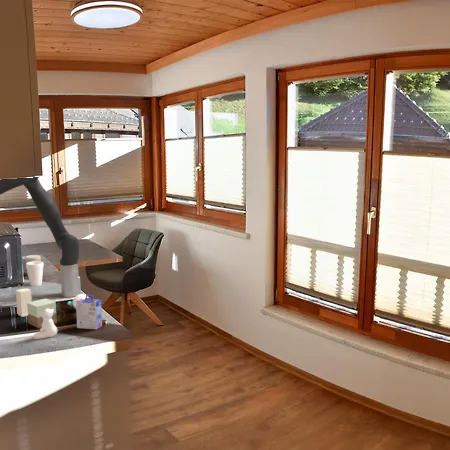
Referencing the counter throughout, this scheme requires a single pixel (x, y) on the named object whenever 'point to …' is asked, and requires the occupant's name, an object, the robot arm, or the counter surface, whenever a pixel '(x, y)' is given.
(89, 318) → the ink cartridge box
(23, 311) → the cream block
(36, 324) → the tower base slab
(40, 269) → the foam cup
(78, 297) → the perfume bottle
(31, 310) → the tower top slab
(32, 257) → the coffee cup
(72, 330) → the counter surface
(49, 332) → the white creature statuette
